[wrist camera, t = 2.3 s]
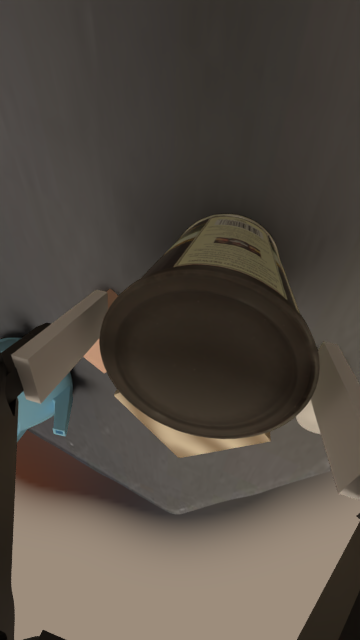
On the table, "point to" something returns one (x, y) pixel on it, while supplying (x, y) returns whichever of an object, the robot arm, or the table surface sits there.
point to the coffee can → (213, 335)
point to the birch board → (189, 436)
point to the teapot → (44, 404)
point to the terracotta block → (94, 351)
